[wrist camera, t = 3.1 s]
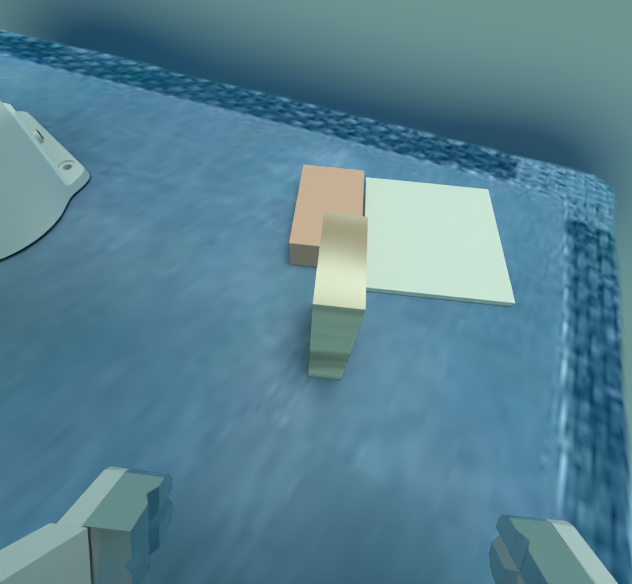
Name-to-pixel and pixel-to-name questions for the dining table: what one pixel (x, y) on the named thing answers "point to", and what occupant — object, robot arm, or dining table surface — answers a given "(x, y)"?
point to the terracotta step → (322, 207)
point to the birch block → (338, 293)
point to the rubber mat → (434, 243)
